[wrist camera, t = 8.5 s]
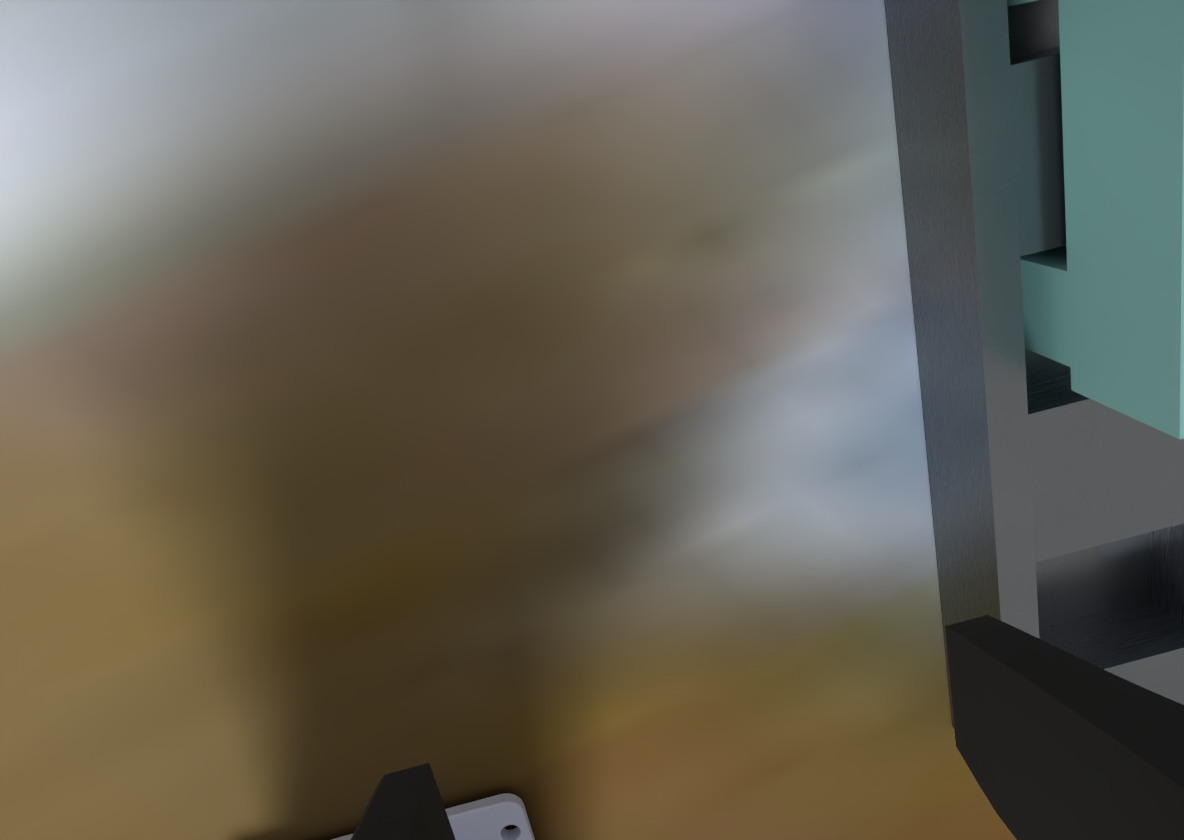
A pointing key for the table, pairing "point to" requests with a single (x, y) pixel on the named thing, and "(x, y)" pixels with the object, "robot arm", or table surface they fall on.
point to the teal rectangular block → (1118, 212)
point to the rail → (1021, 361)
